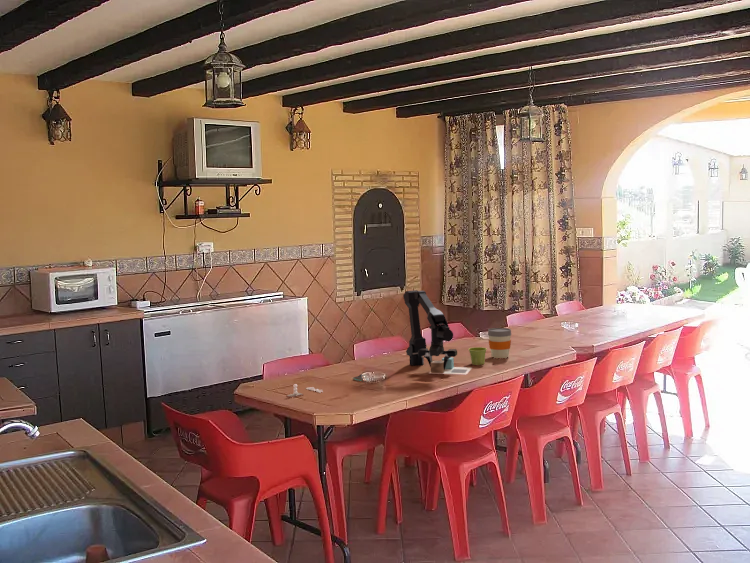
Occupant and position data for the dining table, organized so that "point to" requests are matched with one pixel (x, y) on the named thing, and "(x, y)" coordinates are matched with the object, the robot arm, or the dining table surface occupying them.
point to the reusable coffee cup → (499, 342)
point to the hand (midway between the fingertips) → (438, 369)
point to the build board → (456, 370)
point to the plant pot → (477, 355)
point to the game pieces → (358, 378)
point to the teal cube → (449, 363)
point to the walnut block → (437, 366)
